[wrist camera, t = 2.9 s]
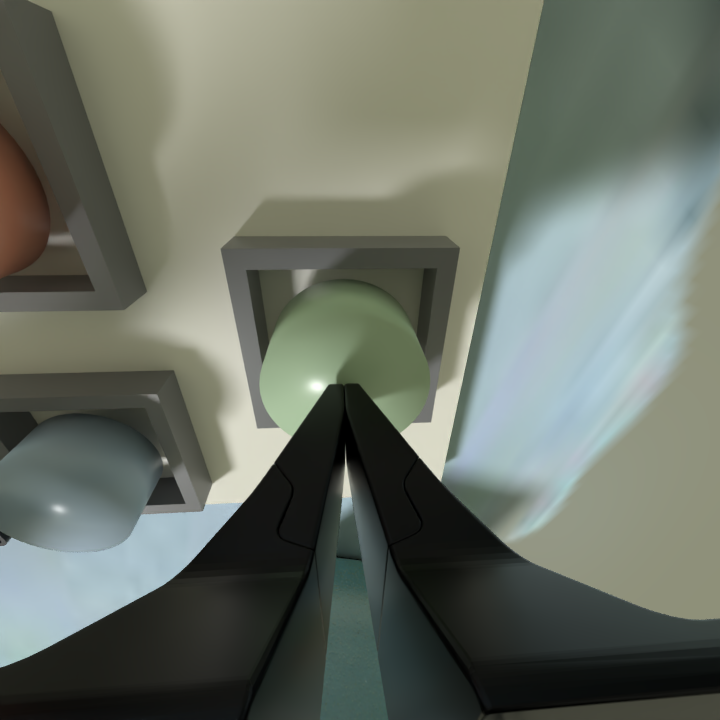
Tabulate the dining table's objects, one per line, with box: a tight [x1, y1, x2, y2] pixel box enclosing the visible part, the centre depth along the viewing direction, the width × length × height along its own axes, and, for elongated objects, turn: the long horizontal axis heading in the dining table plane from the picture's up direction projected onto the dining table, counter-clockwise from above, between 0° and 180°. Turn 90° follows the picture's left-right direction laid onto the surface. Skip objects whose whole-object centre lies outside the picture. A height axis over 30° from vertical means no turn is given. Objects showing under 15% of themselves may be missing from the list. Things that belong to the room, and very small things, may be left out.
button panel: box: [0, 0, 544, 514], centre depth 12 cm, size 20×20×3 cm
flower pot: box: [320, 558, 388, 720], centre depth 21 cm, size 9×9×9 cm
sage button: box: [259, 279, 430, 450], centre depth 11 cm, size 5×5×2 cm
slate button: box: [0, 413, 163, 552], centre depth 13 cm, size 5×5×2 cm
